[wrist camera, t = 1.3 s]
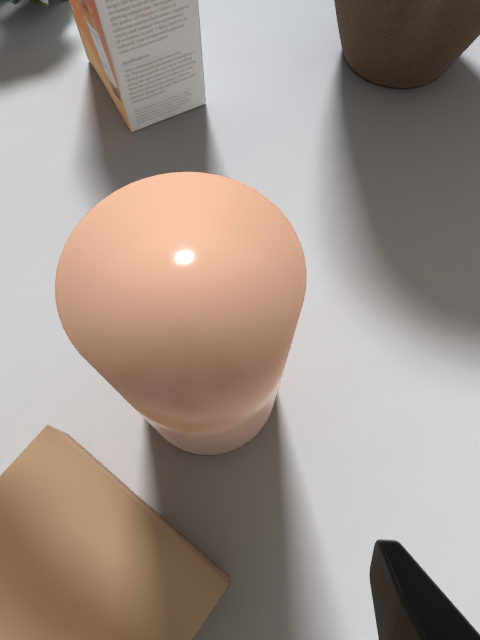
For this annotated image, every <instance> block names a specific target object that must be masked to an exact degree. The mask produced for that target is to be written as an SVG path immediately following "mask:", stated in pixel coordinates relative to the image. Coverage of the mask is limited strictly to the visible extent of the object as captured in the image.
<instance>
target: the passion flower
mask: <svg viewBox="0 0 480 640" xmlns="http://www.w3.org/2000/svg"><path fill="white" fill-rule="evenodd" d="M8 1H10V2H11V3H13V4H17V3H19V2H20V1H22V0H8ZM31 1H32V2H34V3H36V4H38V5H40V6H43V7H44V8H49V3H48V0H31Z"/></svg>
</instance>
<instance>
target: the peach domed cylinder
mask: <svg viewBox="0 0 480 640" xmlns="http://www.w3.org/2000/svg"><path fill="white" fill-rule="evenodd" d="M305 290H306V265H305V257H304V254H303V250H302V247H301V243H300V241H299V239H298V237H297V235H296V232H295V230H294V229H293V227H292V226H291V224H290V222H289V221H288V219H287V218H286V217H285V216H284V214H283V213H282V212H281V211H280V210H279V209H278V208H277V207H276V206H275V205H274V204H273V203H272V202H271V201H270V200H269V199H268V198H266V197H265V196H263V195H262V194H260V193H259V192H258V191H256V190H254V189H252V188H251V187H249V186H247V185H245V184H243V183H240V182H238V181H235V180H233V179H230V178H226V177H223V176H219V175H215V174H209V173H202V172H172V173H166V174H159V175H155V176H151V177H147V178H144V179H141V180H138V181H136V182H133V183H130V184H128V185H126V186H124V187H122V188H120V189H118V190H116V191H115V192H113V193H112V194H110V195H108V196H107V197H105V198H104V199H103V200H101V201H100V202H99V203H98V204H97V205H95V206H94V207H93V208H92V209H91V210H90V211H89V212H88V213H87V214H86V215H85V216H84V217H83V218H82V219H81V221H80V222H79V223H78V224H77V226H76V227H75V228H74V230H73V231H72V233H71V235H70V237H69V238H68V240H67V242H66V244H65V246H64V249H63V251H62V253H61V256H60V259H59V263H58V267H57V271H56V281H55V296H56V304H57V309H58V314H59V317H60V320H61V323H62V325H63V328H64V330H65V332H66V334H67V336H68V337H69V339H70V341H71V343H72V344H73V345H74V346H75V348H76V349H77V350H78V352H79V353H80V354H81V355H82V356H83V357H84V358H85V359H86V360H87V361H88V362H89V363H90V364H91V365H92V366H93V367H94V368H95V369H96V370H97V371H98V372H99V373H100V374H101V375H102V376H103V377H104V378H105V379H106V380H107V381H108V382H109V383H110V384H111V385H112V386H113V387H114V388H115V389H116V390H117V391H118V392H119V393H120V394H121V395H122V396H123V397H124V398H125V399H126V400H127V401H128V402H129V403H130V404H131V405H132V406H133V407H134V408H135V409H136V410H137V411H138V412H139V413H140V414H141V415H142V416H143V417H144V418H145V419H146V420H147V421H148V422H149V423H150V424H151V425H152V426H153V427H154V428H155V429H156V430H157V431H158V432H159V434H160V435H162V436H163V437H164V438H165V439H166V440H167V441H168V442H170V443H171V444H172V445H174V446H176V447H177V448H179V449H181V450H184V451H187V452H189V453H194V454H198V455H218V454H223V453H227V452H230V451H233V450H235V449H237V448H239V447H241V446H243V445H245V444H246V443H248V442H249V441H250V440H252V439H253V438H254V437H255V436H256V435H257V434H258V433H259V432H260V430H261V429H262V428H263V427H264V425H265V423H266V422H267V420H268V418H269V416H270V414H271V411H272V408H273V405H274V402H275V398H276V395H277V391H278V388H279V384H280V381H281V377H282V374H283V370H284V367H285V364H286V360H287V357H288V353H289V350H290V346H291V343H292V339H293V336H294V332H295V329H296V325H297V322H298V318H299V315H300V312H301V308H302V305H303V301H304V296H305Z"/></svg>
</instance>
